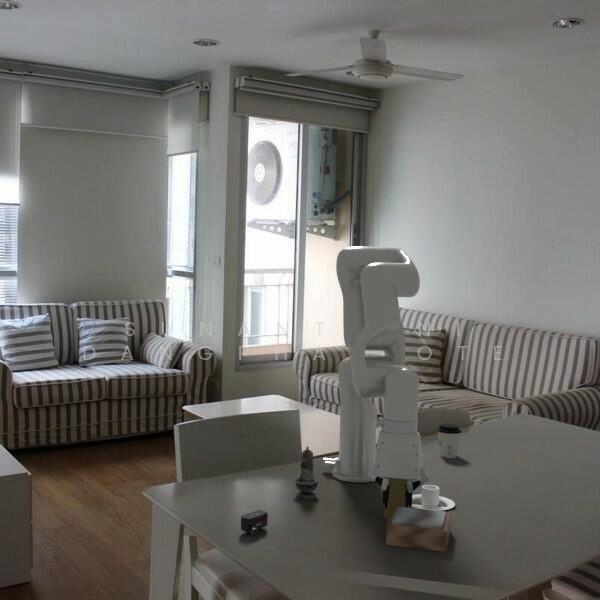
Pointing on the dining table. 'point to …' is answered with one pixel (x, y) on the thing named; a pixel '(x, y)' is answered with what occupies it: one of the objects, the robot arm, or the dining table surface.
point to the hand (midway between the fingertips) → (397, 506)
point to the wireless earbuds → (254, 521)
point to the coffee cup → (448, 440)
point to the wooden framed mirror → (418, 528)
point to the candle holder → (432, 499)
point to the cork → (396, 496)
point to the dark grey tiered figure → (306, 477)
